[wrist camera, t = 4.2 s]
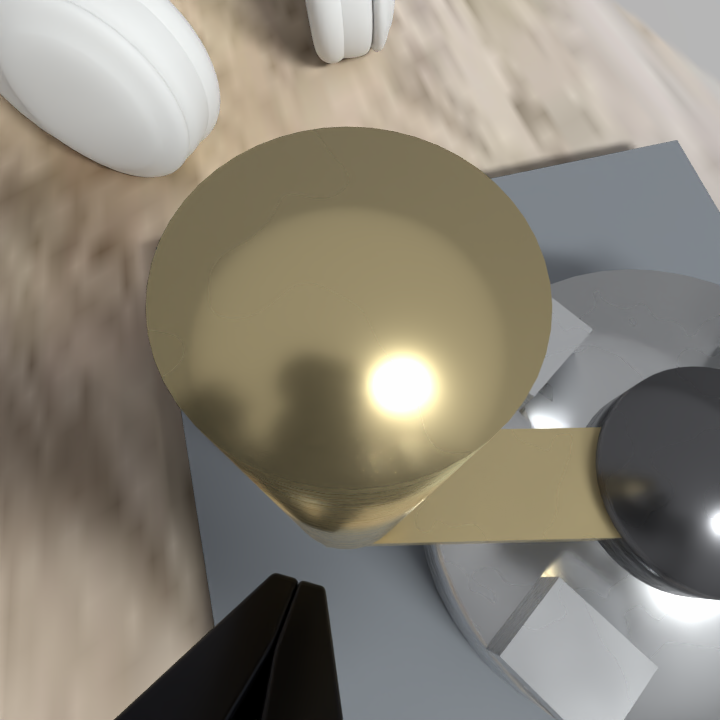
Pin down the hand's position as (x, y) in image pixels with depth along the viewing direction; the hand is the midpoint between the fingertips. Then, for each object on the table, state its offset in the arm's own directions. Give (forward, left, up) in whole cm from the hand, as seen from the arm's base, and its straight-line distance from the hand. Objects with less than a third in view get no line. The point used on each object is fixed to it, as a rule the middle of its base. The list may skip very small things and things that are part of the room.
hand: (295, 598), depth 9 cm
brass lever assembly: (0, -7, -7) cm, 10 cm away
